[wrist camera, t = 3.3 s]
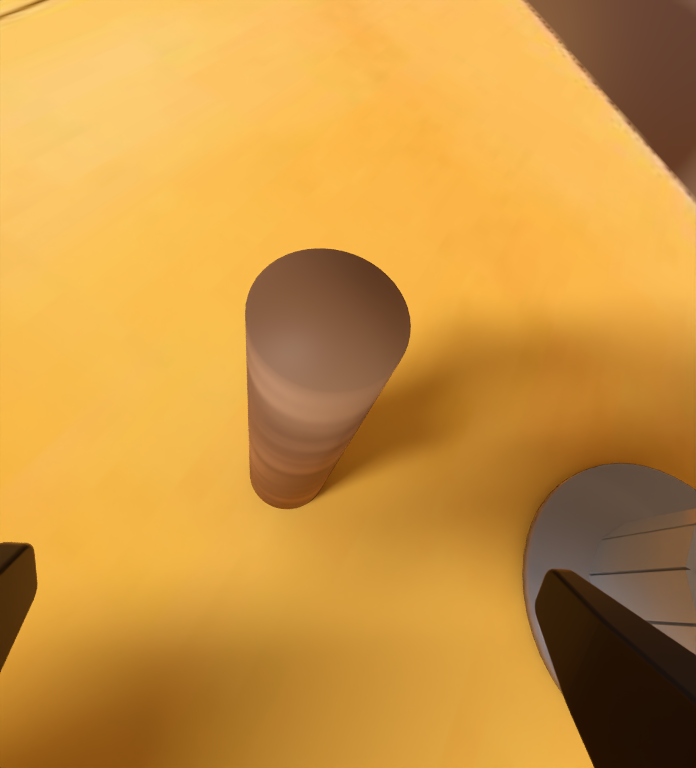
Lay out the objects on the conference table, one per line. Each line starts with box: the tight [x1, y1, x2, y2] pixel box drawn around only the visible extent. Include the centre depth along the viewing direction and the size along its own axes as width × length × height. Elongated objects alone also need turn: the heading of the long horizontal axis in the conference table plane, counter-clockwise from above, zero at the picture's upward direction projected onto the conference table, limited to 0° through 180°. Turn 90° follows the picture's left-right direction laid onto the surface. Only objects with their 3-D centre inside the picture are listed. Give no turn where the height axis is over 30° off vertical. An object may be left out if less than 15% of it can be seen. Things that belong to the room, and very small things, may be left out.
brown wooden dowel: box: [245, 249, 411, 509], centre depth 15 cm, size 3×3×12 cm
